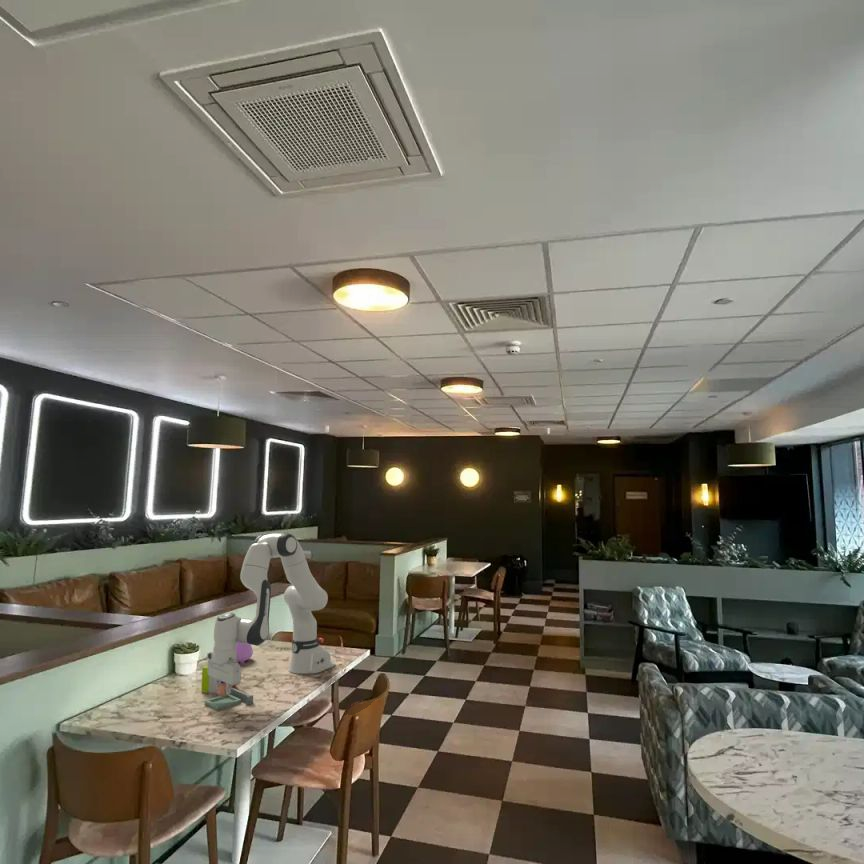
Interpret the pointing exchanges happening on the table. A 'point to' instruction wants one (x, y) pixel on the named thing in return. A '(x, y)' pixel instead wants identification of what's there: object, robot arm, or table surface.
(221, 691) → the ball
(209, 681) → the puzzle toy
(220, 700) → the dish
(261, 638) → the robot arm
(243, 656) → the teapot
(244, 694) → the bar with end supports
